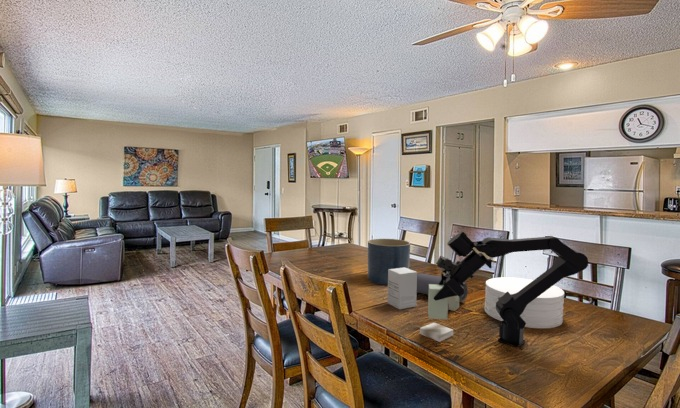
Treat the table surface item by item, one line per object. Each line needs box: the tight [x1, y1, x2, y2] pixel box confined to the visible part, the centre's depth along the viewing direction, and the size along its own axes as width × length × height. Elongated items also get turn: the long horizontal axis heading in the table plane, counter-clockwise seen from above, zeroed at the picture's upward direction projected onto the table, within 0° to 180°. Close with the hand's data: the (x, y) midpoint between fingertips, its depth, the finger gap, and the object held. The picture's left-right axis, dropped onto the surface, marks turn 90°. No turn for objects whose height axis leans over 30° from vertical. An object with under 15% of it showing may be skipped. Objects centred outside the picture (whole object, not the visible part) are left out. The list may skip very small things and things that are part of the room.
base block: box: [419, 322, 454, 343], centre depth 127 cm, size 8×8×2 cm
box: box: [448, 296, 460, 312], centre depth 153 cm, size 5×4×13 cm
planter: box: [367, 238, 411, 286], centre depth 195 cm, size 22×22×20 cm
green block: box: [427, 284, 449, 321], centre depth 127 cm, size 6×6×10 cm
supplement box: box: [387, 267, 418, 310], centre depth 156 cm, size 9×9×15 cm
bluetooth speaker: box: [417, 272, 469, 303], centre depth 166 cm, size 23×9×10 cm, turn 50°
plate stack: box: [484, 276, 565, 329], centre depth 148 cm, size 28×28×12 cm
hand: (433, 296), depth 127 cm, fingers closed on green block, 6 cm apart
